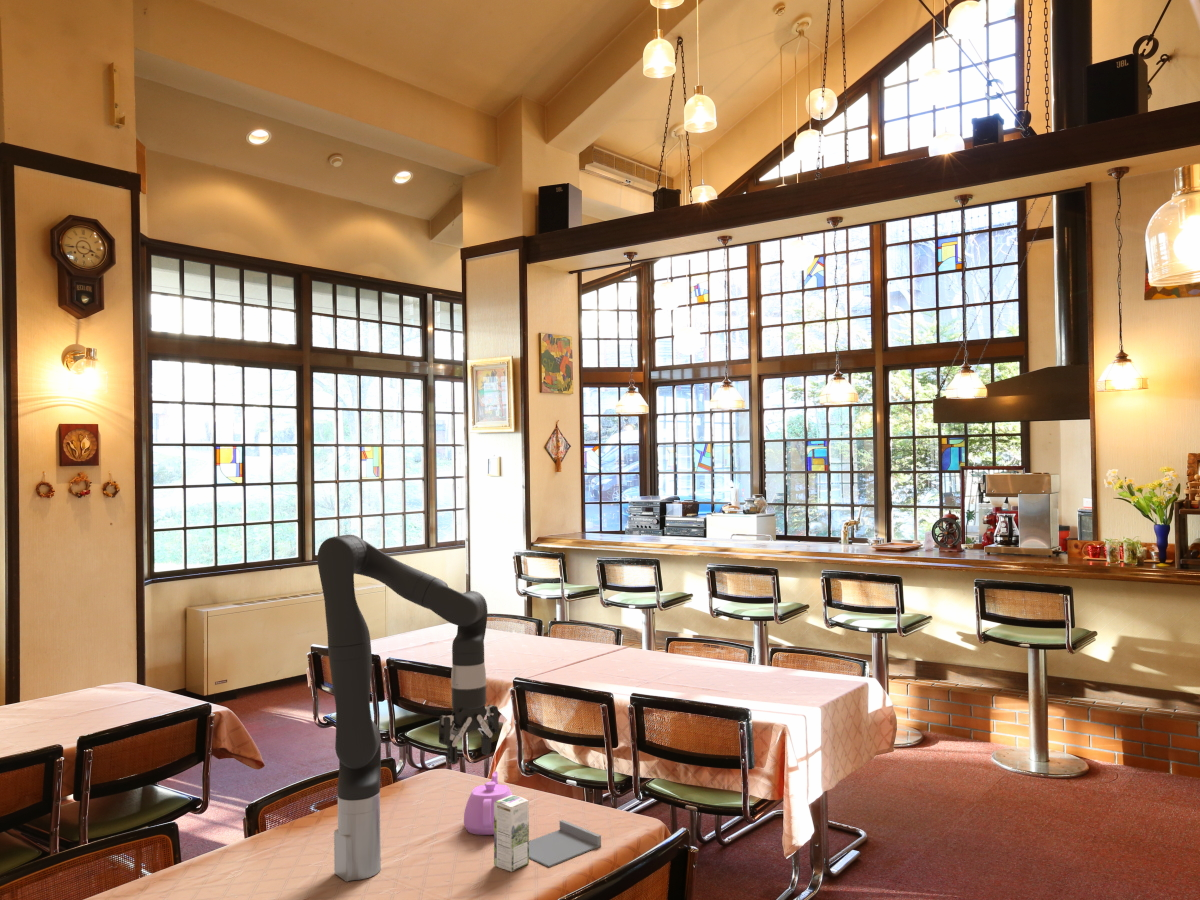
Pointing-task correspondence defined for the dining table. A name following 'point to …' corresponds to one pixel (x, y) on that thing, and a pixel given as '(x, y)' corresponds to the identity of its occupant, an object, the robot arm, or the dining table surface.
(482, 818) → the teapot
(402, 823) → the dining table surface
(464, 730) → the robot arm
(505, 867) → the syrup box
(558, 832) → the board with raised edge
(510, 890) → the dining table surface
